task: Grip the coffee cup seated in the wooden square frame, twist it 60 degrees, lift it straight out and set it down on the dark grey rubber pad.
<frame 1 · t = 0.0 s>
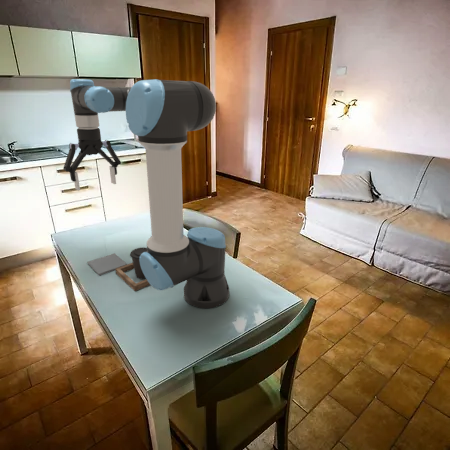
hand: (96, 186, 120), 28 cm above the table, tool pointing down, fingers open, 13 cm apart
coffee cup: (143, 275, 116), resting in wooden square frame
wooden square frame: (143, 274, 116), on the table
pad: (107, 264, 122), on the table
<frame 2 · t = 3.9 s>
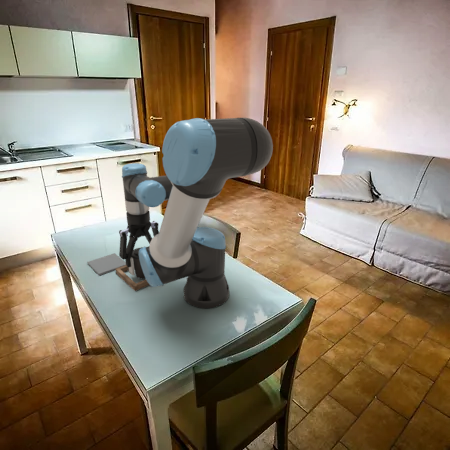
hand: (143, 269, 115), 2 cm above the table, tool pointing down, fingers closed on coffee cup, 8 cm apart
coffee cup: (143, 275, 116), resting in wooden square frame, touching gripper
when the fingers open (4 cm above the table, at t = 11.5 s): coffee cup drops 1 cm, resting on pad.
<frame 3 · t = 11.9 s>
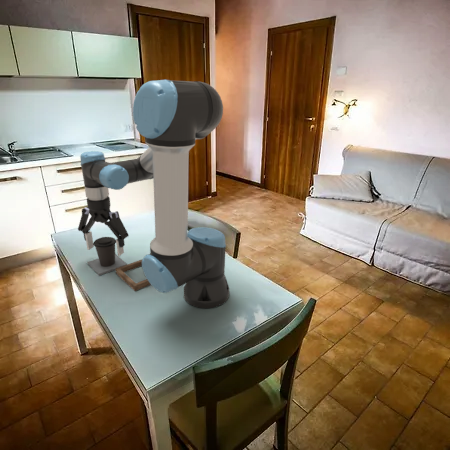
hand: (105, 251, 119), 6 cm above the table, tool pointing down, fingers open, 13 cm apart
coffee cup: (107, 263, 121), point 1 cm above the table, touching pad
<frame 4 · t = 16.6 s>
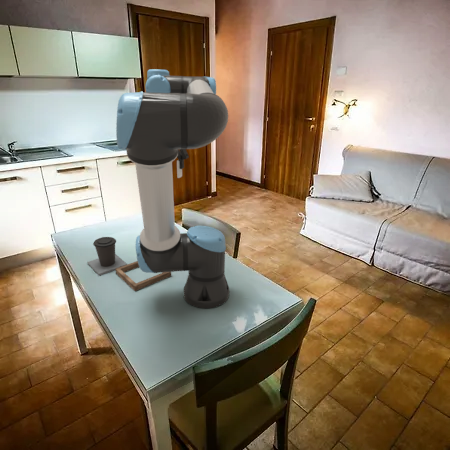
hand: (163, 175, 123), 32 cm above the table, tool pointing down, fingers open, 13 cm apart
nothing on the table moved.
at the end: coffee cup 0.2 cm off-centre on the pad, point 0.6 cm above the pad's base; coffee cup tilted 0°; the gripper is holding nothing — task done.
